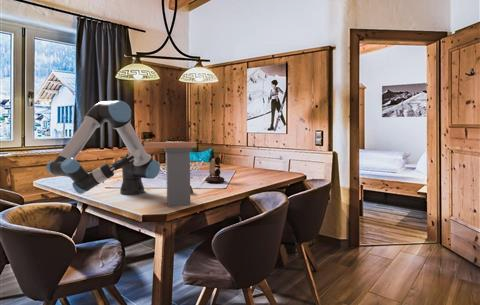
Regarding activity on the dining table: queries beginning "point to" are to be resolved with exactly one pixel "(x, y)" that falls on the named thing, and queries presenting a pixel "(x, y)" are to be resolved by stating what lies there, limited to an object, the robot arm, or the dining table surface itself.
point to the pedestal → (178, 176)
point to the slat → (169, 145)
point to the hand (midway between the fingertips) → (139, 151)
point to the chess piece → (214, 173)
